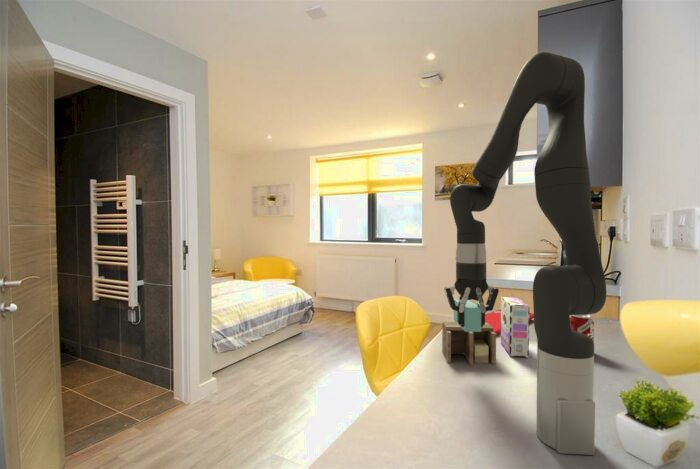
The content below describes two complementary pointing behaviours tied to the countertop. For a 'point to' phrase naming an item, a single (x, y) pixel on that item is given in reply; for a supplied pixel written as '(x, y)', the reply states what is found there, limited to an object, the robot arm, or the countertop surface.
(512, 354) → the candy box
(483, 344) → the oak offcut
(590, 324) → the soda can
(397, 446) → the countertop surface
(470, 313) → the block
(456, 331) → the shelf
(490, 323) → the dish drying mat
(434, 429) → the countertop surface
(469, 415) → the countertop surface
